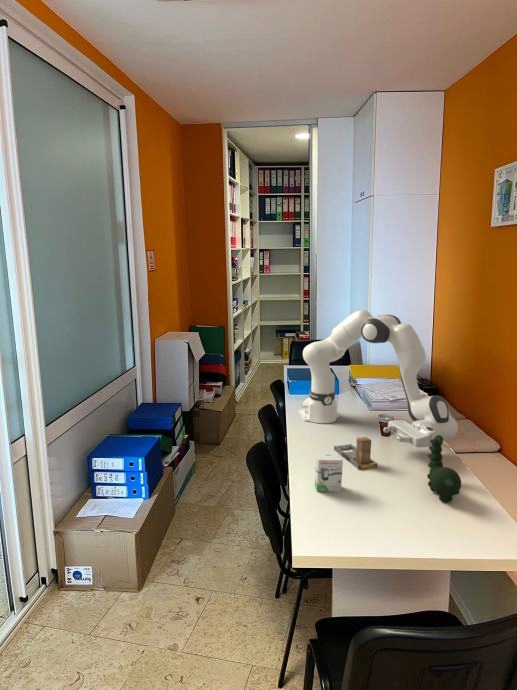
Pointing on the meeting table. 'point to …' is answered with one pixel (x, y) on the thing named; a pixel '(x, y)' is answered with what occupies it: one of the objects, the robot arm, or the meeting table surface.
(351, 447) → the tray
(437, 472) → the toy figurine
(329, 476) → the ink box
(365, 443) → the walnut peg
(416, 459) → the meeting table surface
